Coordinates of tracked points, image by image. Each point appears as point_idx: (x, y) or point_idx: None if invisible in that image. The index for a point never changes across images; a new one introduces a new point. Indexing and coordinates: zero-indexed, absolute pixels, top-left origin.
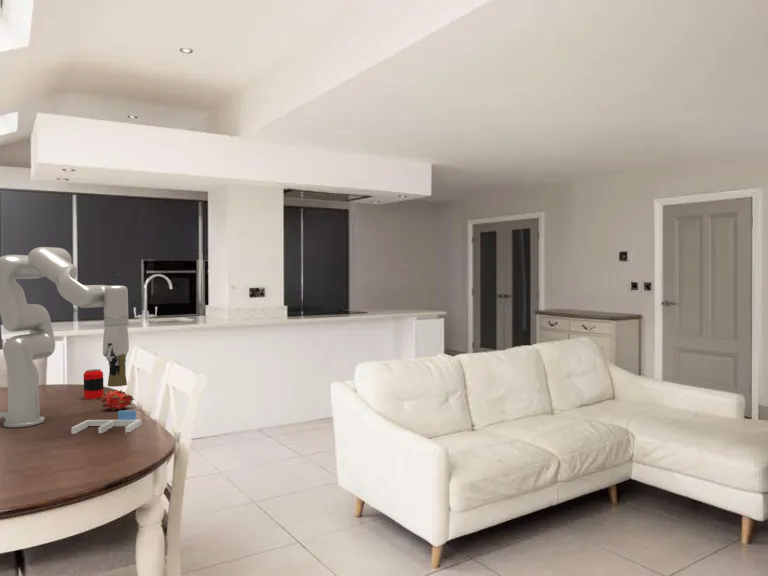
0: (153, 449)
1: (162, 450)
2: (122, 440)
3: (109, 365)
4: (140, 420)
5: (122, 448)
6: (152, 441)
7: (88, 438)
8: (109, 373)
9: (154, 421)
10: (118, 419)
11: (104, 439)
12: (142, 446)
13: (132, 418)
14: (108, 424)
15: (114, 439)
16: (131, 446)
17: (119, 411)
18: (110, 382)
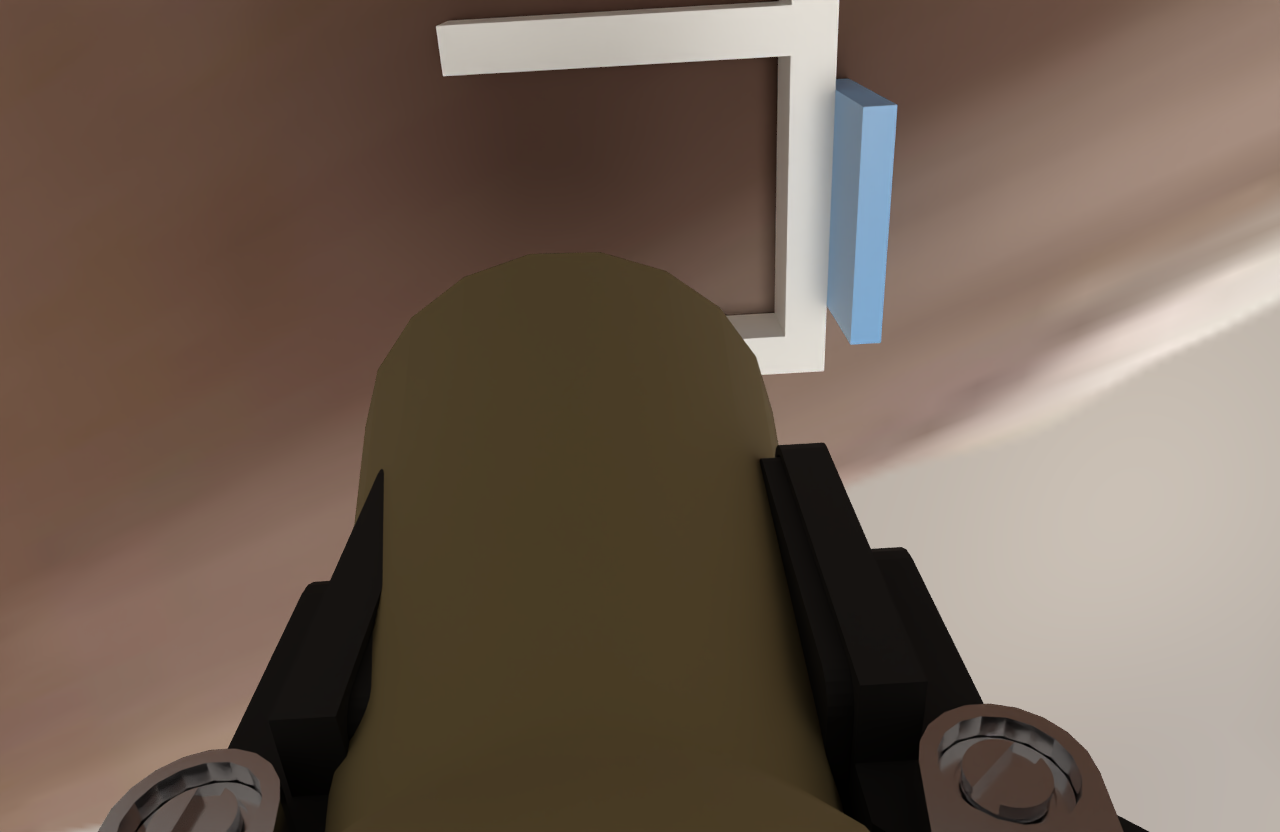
0: (59, 750)
1: (57, 807)
2: (230, 427)
3: (160, 786)
4: (797, 370)
5: (5, 540)
6: (256, 666)
7: (222, 21)
8: (411, 487)
9: (963, 406)
10: (836, 94)
11: (224, 235)
12: (106, 655)
13: (831, 276)
14: (627, 63)
15: (246, 337)
16: (80, 581)
17: (859, 129)
18: (366, 436)
